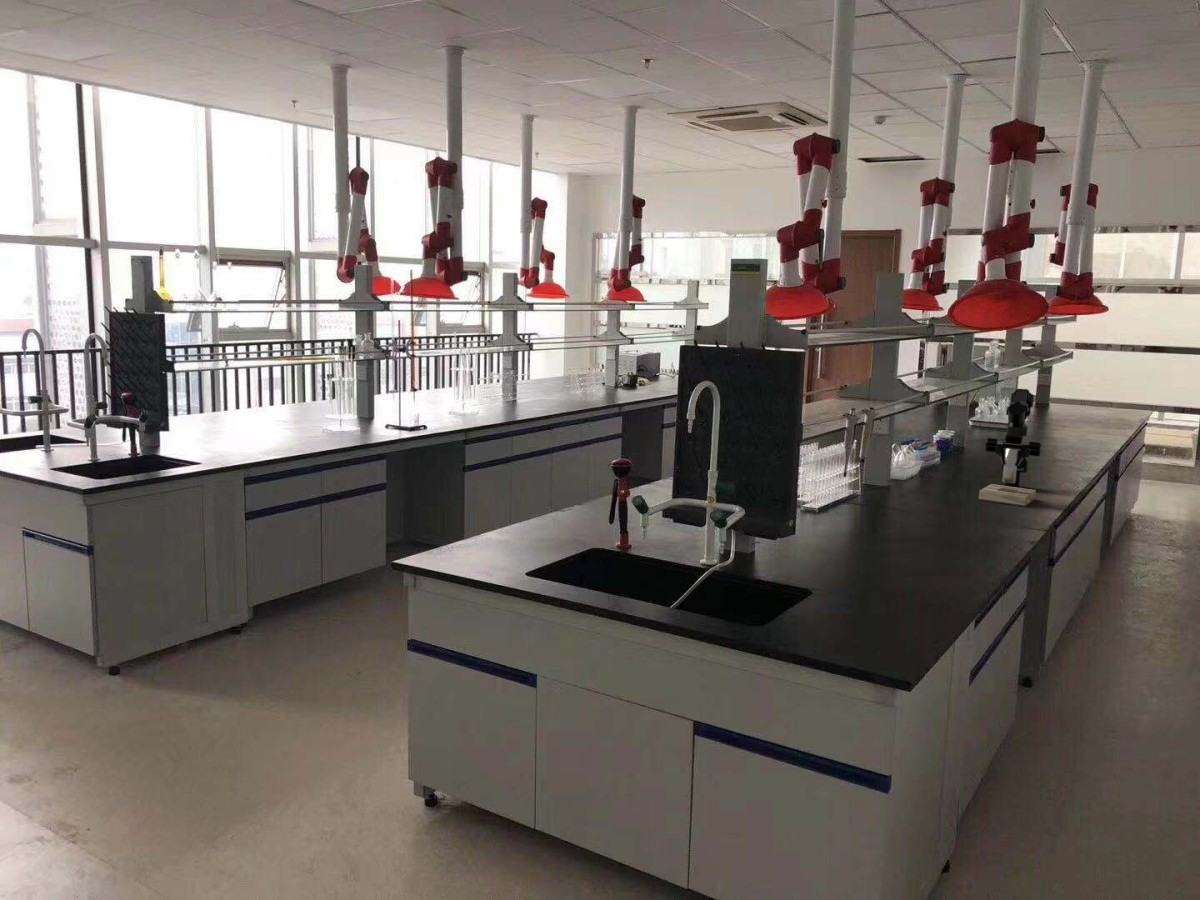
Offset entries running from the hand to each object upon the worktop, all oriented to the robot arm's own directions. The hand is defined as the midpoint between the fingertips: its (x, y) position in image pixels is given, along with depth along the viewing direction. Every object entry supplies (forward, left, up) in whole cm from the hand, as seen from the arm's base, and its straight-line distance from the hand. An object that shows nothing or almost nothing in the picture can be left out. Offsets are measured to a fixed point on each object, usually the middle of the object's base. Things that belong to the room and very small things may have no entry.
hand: (1010, 465), depth 341 cm
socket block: (-1, 0, -13) cm, 13 cm away
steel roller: (-1, 0, -7) cm, 7 cm away
